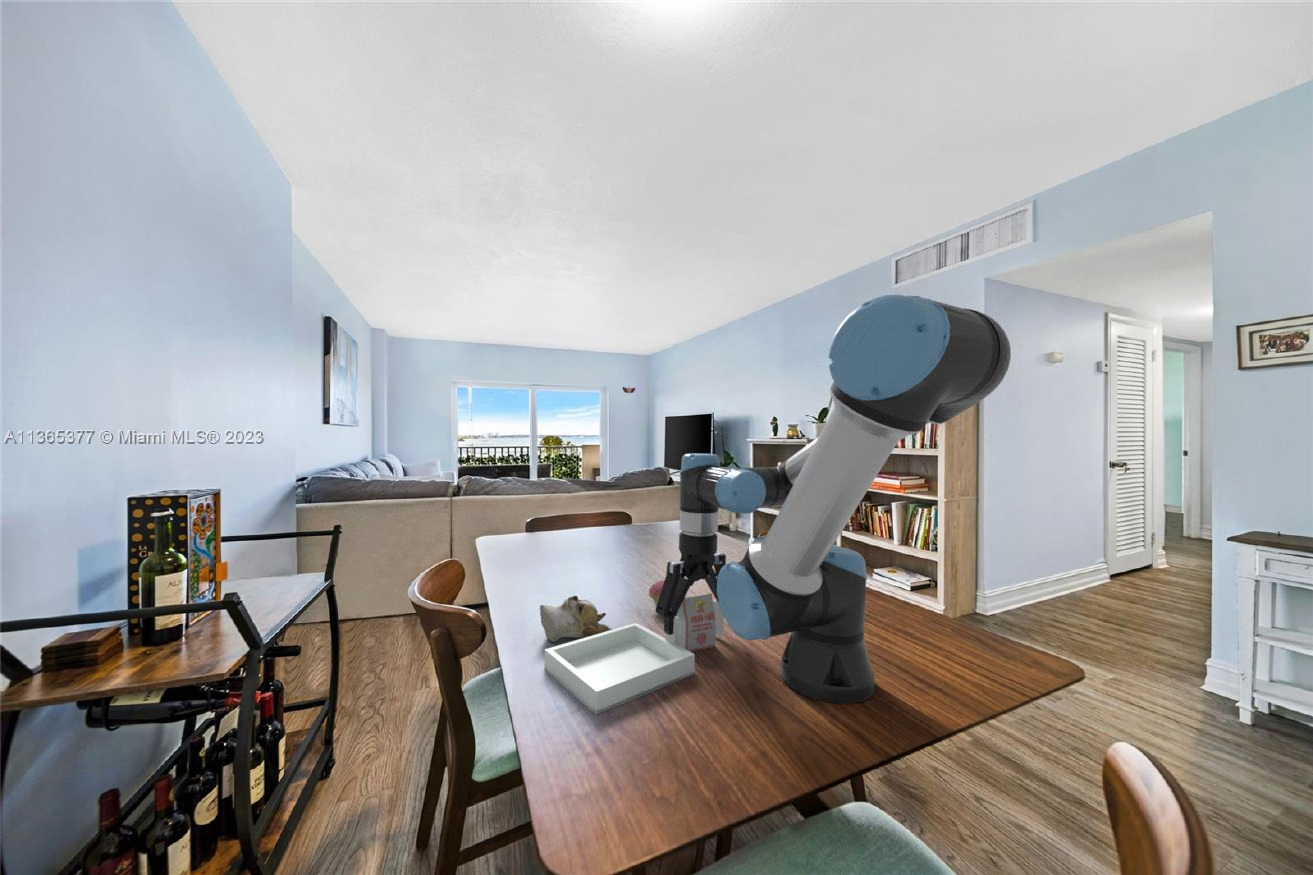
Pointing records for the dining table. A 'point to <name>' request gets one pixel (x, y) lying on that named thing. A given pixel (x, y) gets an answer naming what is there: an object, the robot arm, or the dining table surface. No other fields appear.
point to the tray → (617, 666)
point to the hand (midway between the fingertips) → (695, 641)
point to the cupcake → (656, 590)
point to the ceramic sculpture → (571, 620)
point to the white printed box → (697, 623)
